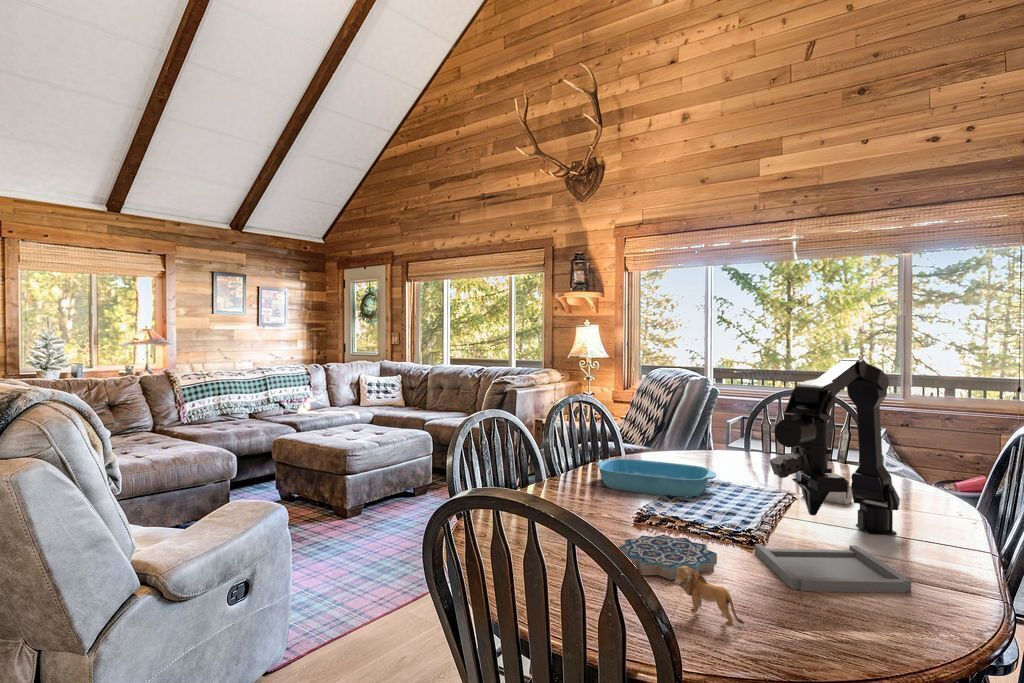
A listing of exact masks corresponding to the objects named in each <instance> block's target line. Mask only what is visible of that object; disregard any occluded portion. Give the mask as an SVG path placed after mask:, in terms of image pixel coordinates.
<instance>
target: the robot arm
mask: <svg viewBox="0 0 1024 683" xmlns="http://www.w3.org/2000/svg"><path fill="white" fill-rule="evenodd" d="M889 385H890V382H889V376H887V375H886V373H885V372H884V371H883V370H882V369H880V368H879V367H876V366H874V365H872V364H869V363H867V362H866V360H865V359H862V358H850V357H849V358H848V357H847V358H846V357H843V358H841V359H839V360H838V362H837V364H835V365H834V366H832V367H831V368H830V369H829V370H827V371H826V372H824V373H823V374H822V375H820V376H819V377H818V378H815V379H809V380H804V381H801V382H799V383H797V384H796V385H795V387H794V388H793V390H792V392H791V394H790V397H789V400H788V403H787V405H786V407H785V409H784V414H783V419H781V420H780V421H779V422H777V423H776V426H775V428H774V436H775V439H776V441H777V442H778V443H779V444H780V445H781V446H782V447H783V446H784V447H786V448H792V452H789V453H785V454H782V455H778V456H776V457H773V458H771V459H769V461H768V462H769V464H770V467H771V470H772V472H773V475H775V476H778V477H779V478H781V479H785V478H788V477H789V476H791V475H794V474H795V478H791V480H792V481H793V482H795V484H797V486H798V487H800V489H801V493H802V492H803V494H802V496H803V495H804V496H803V498H804V502H805V505H806V508H807V512H808V514H809V515H810V516H816V515H817V513H818V512H819V510H820V508H822V505H823V503H824V502H825V501H824V500H825V498H826V497H827V495H828V494H829V492H849V485H850V486H851V490H852V500H853V501H852V502H853V503H854V504H859V509H857V523H855V527H857V528H858V529H861V530H862V531H863V532H865V533H868V534H869V535H897V534H898V532H897V531H895V530H893V528H894V527H893V523H894V522H893V519H894V517H893V516H894V515H893V512H894V511H899V510H900V509H899V508H900V505H901V504H900V502H901V501H900V500H901V498H900V496H899V495H898V493H897V490H896V489H895V486H894V485H893V480H892V475H891V474H890V472H889V471H888V469H886V467H885V466H884V464H883V448H882V428H881V408H880V407H881V405H882V403H883V402H884V400H885V399H886V397H887V396H888V389H889ZM845 388H846V389H847V390H846V391H847V396H848V398H849V399H850V401H851V402H852V403H853V405H854V406H855V407H856V408H855V409H856V422H857V441H858V442H857V443H858V444H857V445H858V456H859V457H858V458H859V465H858V467H857V468H856V470H855V471H854V472H853V473H852V474H851V484H850V482H849V481H848V480H847V479H846V477H843V476H841V475H840V474H837V473H832V472H833V468H831V467H829V465H828V462H829V461H828V460H829V456H828V455H833V449H832V448H830V447H829V421H831V420H832V418H833V417H832V416H831V415H830V411H831V410H832V408H833V407H834V406H835V404H836V403H837V397H836V396H837V394H839V393H840V392H841V391H842V390H844V389H845Z"/></svg>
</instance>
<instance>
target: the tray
mask: <svg viewBox="0 0 1024 683" xmlns="http://www.w3.org/2000/svg"><path fill="white" fill-rule="evenodd" d="M754 554H755V555H756V556H757V557H758V558H759V559H760V560H761V561H762V562H763V563H764V564H765V565H766V566H767V567H768V568H769V569H770V570H771V571H772V572H773V573H774V574H775V575H776V576H777V577H779V579H781V581H783V583H785V585H787V586H788V587H789V588H790V589H791V590H799V591H801V592H820V593H821V592H823V593H824V592H827V593H829V592H830V593H832V592H833V593H835V592H836V593H876V594H877V593H881V594H882V593H884V594H886V593H888V594H889V593H890V594H891V593H892V594H906V592H912V580H911V579H909V578H907V577H906V576H904V575H903V574H901V573H900V572H899V571H897V570H895V569H894V568H892V567H891V566H889V565H887V564H886V563H884V562H883V561H881V560H880V559H878V558H876V557H875V556H873V555H872V554H870V553H869V552H867V551H866V550H864V549H863V548H861V547H860V546H858V544H857V545H856V544H854V545H852V544H849V549H807V548H806V549H802V548H799V549H798V548H792V549H791V548H767V547H765V545H763V543H754Z"/></svg>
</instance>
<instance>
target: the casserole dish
mask: <svg viewBox="0 0 1024 683" xmlns="http://www.w3.org/2000/svg"><path fill="white" fill-rule="evenodd" d="M596 467H597V468H598V470H599V473H600V476H601V480H602V481H603V484H604V485H605V486H606V487H607V488H608V489H612V490H617V491H625V492H633V493H641V494H649V495H658V496H665V495H674V496H697V497H699V496H698V495H700V494H701V495H702V494H703V492H704V491H705V488H706V487H707V484H708V481H709V480H714V479H716V477H717V473H716V472H715V471H713V470H711V469H710V468H708V467H705V466H700V465H692V464H682V463H675V462H666V461H665V462H664V461H654V460H644V459H637V458H636V459H635V458H611V459H605V460H601V461H598V462H596ZM701 495H700V496H701ZM674 496H673V497H674Z"/></svg>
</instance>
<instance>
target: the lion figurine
mask: <svg viewBox="0 0 1024 683" xmlns="http://www.w3.org/2000/svg"><path fill="white" fill-rule="evenodd" d="M677 569H678V570H677V576H676V578H675V579H674V581H675V583H676V585H677V587H679V588H681V589H682V590H683V591H685V594H686V595H688V596H690V597H691V602H692V605H693V608H690V612H691V613H692V614H696V613H698V611H699V609H701V608H702V601H706V602H708V603H715V602H716V605H717V607H718V609H719V610H720V611H721V613H720V616H721V617H722V618H725V619H727V620H726V621H725V622H724V623H725V626H727V627H731V626H732V625H733V618H732V614H733V617H734V619H735V620H736V621H737V622H738V623H739V624H742V625H744V624H745V622H744V621H743V620H742V619H741V618H739V617H738V615H737V613H736V610H735V606H734V602H733V599H732V596H731V594H730V592H729V590H728V589H727V588H725V587H724V586H721V585H714V584H711V583H709V582H707V581H706V580H705V578H704V577H703V575H702V574H699V573H697V572H696V571H695V570H693V569H692V568H690V567H687V566H680V567H677ZM729 605H730V608H731V611H732V614H731V613H730V610H729Z"/></svg>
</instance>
